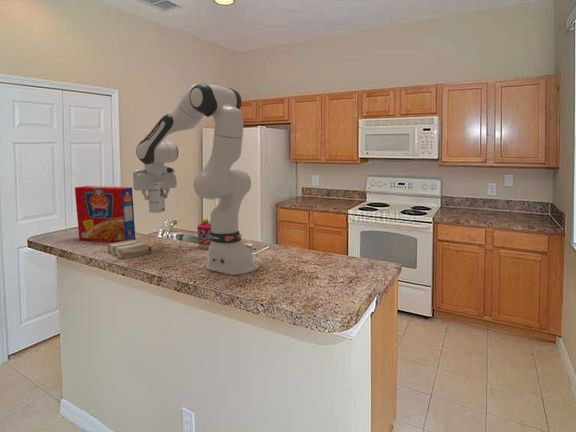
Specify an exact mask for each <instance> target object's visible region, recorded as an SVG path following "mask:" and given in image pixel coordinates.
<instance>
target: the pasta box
mask: <svg viewBox="0 0 576 432" xmlns="http://www.w3.org/2000/svg"><path fill="white" fill-rule="evenodd" d="M74 195H75V205H76V217H77V228H78V240H79V241H81V242H91V243H92V242H93V243H94V242H95V243H107V244H109V243H116V242H122V241H128V240H136V229H135V227H136V226H135V213H134V212H135V211H134V197H133V196H134V195H133V186H132V187H129V186H128V187H126V186H103V185H101V186H95V185H85V186H74Z"/></svg>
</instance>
